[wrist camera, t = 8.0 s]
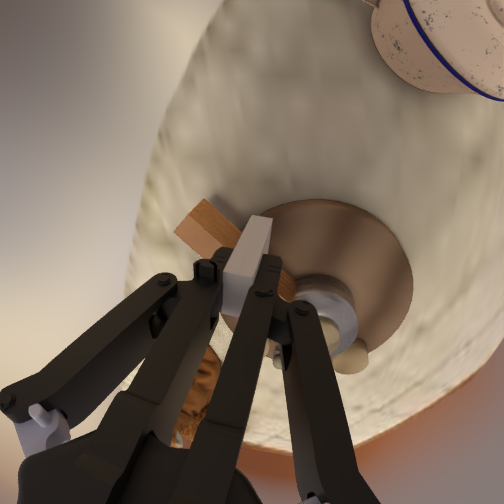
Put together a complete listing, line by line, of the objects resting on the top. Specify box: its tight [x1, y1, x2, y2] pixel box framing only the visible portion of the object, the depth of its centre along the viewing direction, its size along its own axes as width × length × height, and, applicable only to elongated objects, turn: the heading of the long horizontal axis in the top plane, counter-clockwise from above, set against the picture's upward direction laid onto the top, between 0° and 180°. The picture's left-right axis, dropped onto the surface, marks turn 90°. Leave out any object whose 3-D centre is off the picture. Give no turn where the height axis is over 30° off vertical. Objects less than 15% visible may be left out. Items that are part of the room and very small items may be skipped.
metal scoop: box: [174, 199, 358, 357], centre depth 21 cm, size 16×7×4 cm, turn 47°
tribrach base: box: [220, 200, 413, 374], centre depth 24 cm, size 18×18×4 cm
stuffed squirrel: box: [171, 346, 220, 448], centre depth 30 cm, size 10×14×13 cm
